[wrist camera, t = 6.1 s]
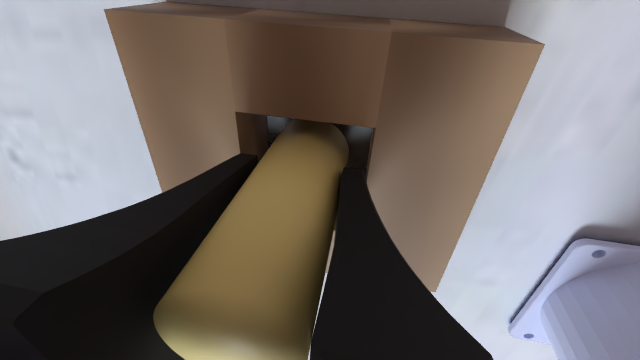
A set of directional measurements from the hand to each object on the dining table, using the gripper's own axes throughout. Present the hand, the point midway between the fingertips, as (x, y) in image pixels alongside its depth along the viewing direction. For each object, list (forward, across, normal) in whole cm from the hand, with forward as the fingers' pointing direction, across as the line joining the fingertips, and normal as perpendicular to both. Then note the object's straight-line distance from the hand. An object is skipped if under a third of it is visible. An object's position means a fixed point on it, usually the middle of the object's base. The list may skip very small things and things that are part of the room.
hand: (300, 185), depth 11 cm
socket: (+3, 0, 0) cm, 3 cm away
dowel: (+2, 0, 0) cm, 2 cm away
